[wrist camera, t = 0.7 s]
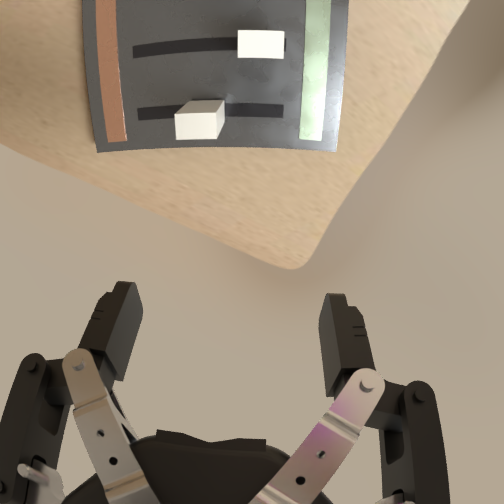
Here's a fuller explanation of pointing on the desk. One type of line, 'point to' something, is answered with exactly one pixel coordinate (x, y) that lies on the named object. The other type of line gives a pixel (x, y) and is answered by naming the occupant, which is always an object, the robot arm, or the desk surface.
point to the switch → (200, 120)
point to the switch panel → (214, 71)
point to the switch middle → (260, 44)
